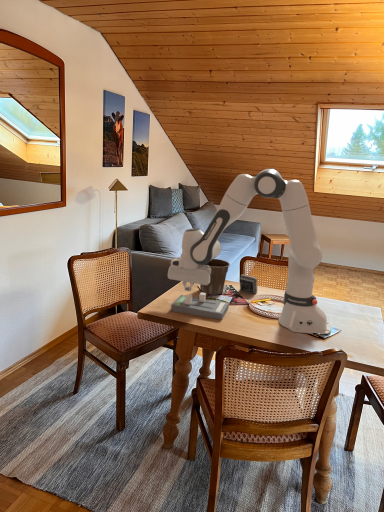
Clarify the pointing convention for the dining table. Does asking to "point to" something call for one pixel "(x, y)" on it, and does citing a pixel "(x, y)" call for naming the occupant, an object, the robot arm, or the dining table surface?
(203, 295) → the block
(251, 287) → the electrical switch
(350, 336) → the dining table surface
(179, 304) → the grey slider panel
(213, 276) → the plant pot
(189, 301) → the block
